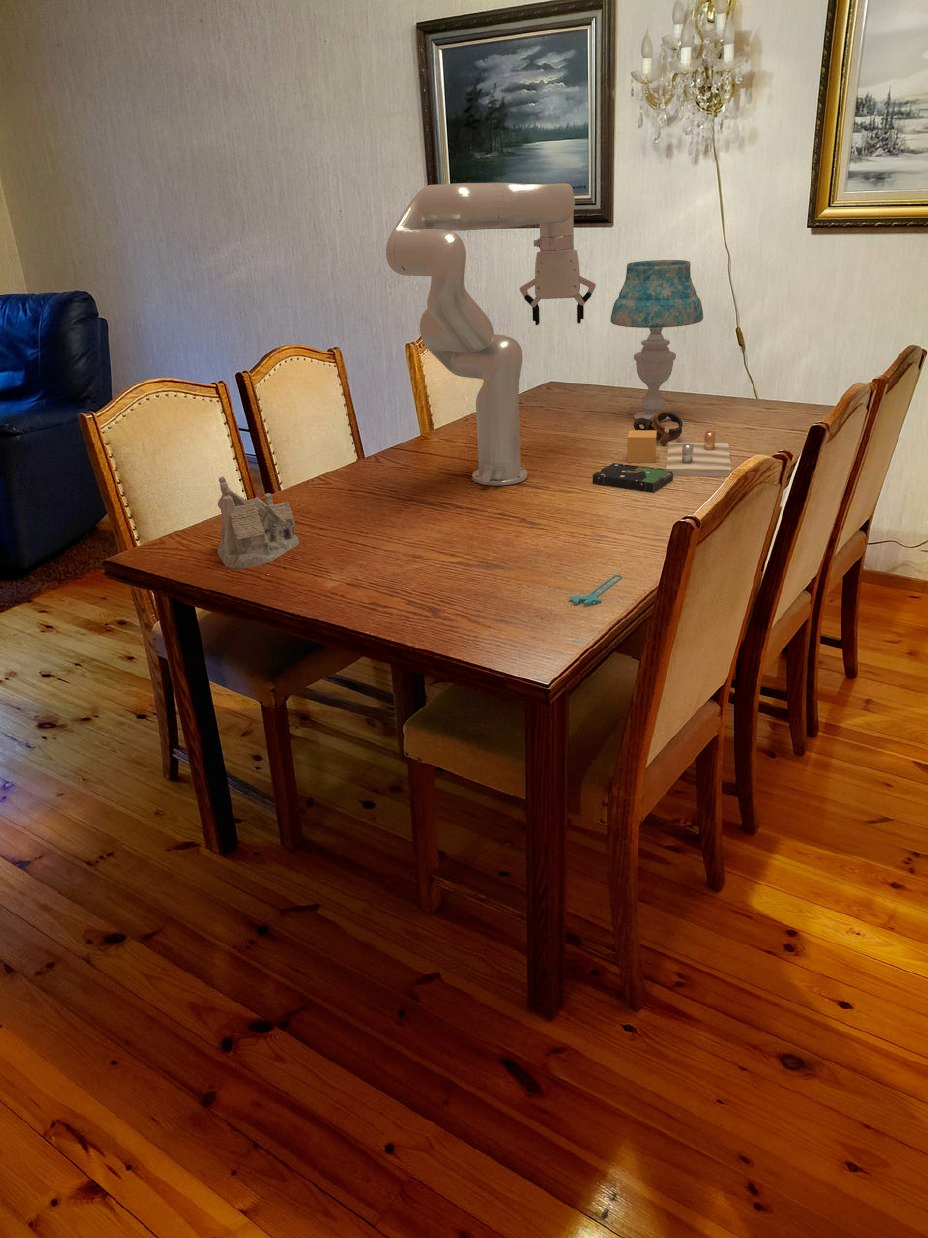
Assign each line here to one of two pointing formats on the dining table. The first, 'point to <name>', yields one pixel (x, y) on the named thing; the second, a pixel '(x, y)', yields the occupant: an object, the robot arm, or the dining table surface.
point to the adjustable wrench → (592, 598)
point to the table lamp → (656, 319)
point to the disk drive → (633, 477)
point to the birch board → (699, 460)
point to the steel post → (687, 453)
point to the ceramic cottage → (253, 529)
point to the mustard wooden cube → (641, 446)
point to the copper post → (709, 441)
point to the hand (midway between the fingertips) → (558, 323)
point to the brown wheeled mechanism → (661, 426)
